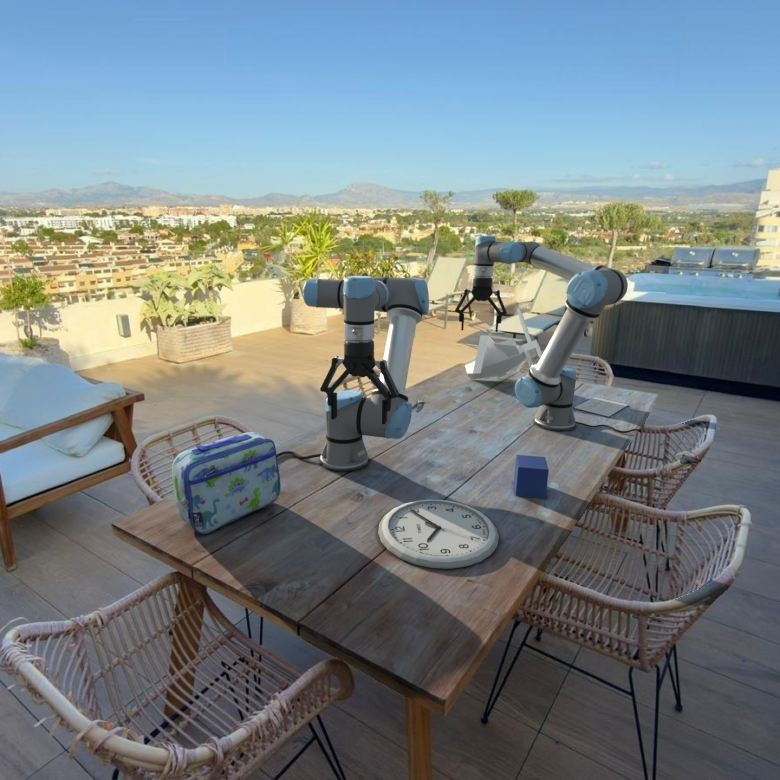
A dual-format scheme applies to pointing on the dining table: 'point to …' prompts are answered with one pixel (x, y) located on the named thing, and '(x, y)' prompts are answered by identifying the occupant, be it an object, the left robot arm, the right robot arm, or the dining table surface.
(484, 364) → the white plastic object
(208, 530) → the lunch box
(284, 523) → the dining table surface
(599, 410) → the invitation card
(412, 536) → the wall clock
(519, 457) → the block
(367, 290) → the left robot arm
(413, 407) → the fork
